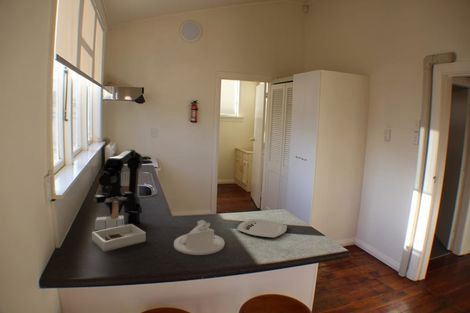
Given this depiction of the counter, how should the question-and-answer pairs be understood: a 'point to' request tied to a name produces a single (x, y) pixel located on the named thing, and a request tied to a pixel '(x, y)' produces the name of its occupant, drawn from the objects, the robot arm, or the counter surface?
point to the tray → (130, 233)
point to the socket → (113, 236)
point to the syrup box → (108, 222)
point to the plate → (263, 228)
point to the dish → (199, 241)
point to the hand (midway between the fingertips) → (114, 214)
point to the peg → (115, 210)
